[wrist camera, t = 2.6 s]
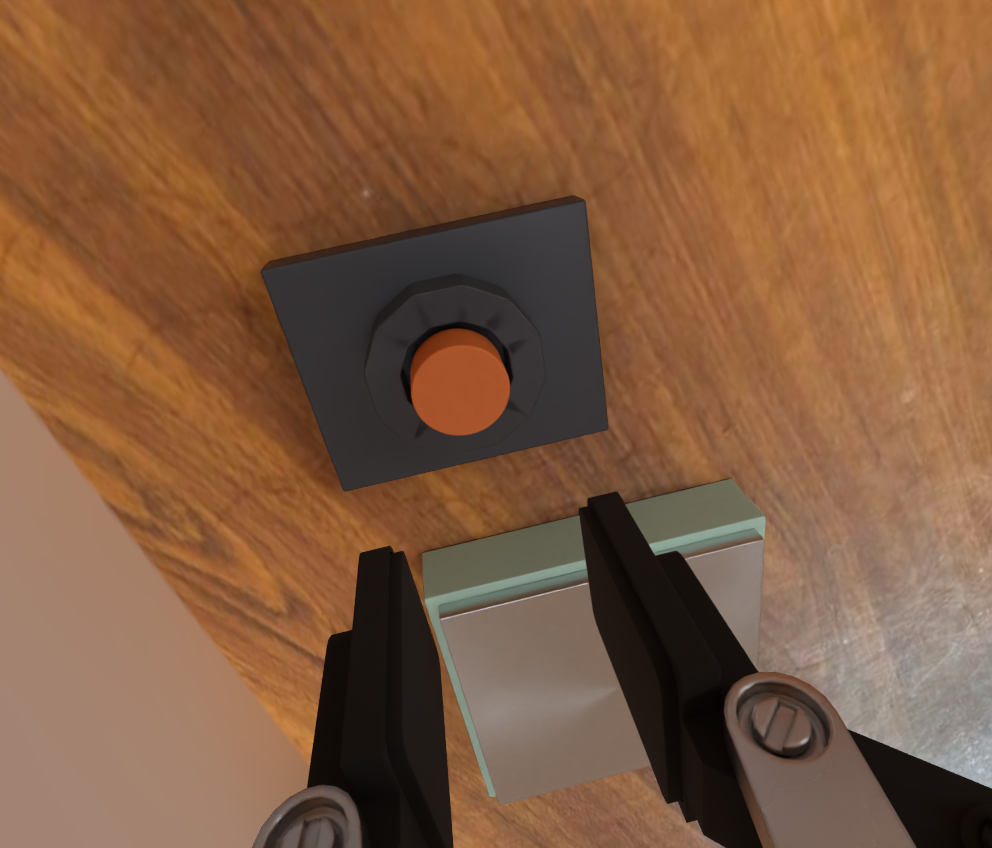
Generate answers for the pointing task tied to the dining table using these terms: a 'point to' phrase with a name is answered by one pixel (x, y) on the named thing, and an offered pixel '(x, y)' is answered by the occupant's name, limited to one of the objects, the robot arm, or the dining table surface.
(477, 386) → the tare button
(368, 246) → the block
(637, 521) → the scale
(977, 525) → the dining table surface
